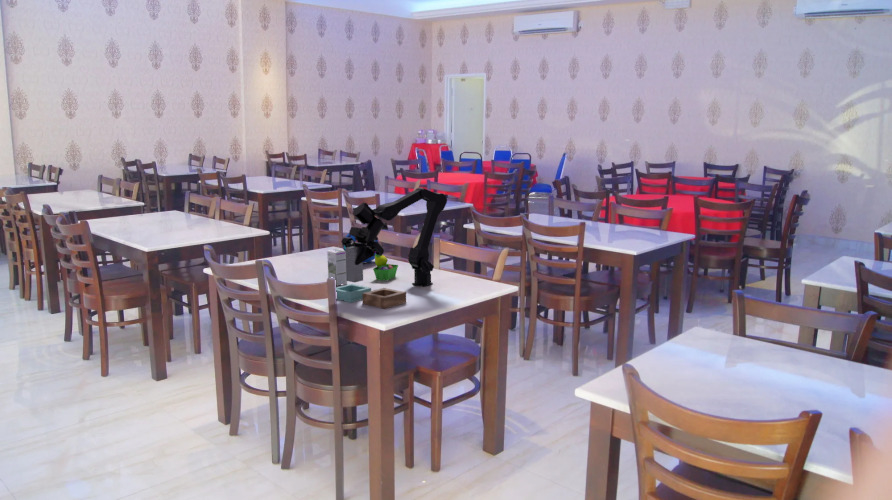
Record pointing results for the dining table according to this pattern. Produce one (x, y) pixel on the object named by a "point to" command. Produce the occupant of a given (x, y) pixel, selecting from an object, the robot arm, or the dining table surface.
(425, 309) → the dining table surface
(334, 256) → the syrup box
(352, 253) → the square axle
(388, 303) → the bore block
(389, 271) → the fruit basket
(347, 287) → the cradle
